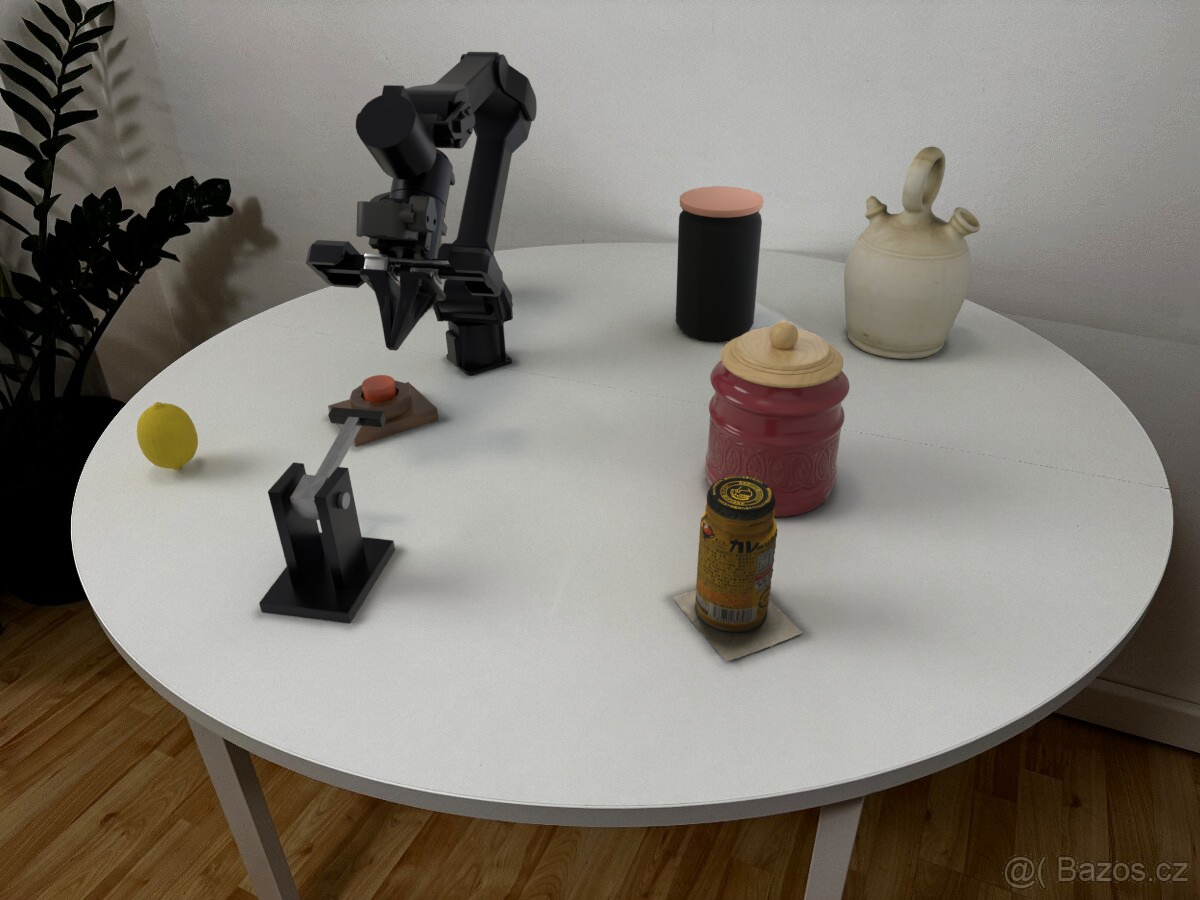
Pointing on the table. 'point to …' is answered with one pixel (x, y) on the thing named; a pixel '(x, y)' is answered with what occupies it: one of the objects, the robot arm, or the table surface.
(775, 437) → the kitchen canister
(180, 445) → the lemon
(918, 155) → the jug
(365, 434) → the button block
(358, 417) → the control lever
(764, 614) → the condiment
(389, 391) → the button
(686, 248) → the coffee jar
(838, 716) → the table surface
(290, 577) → the lever bracket
